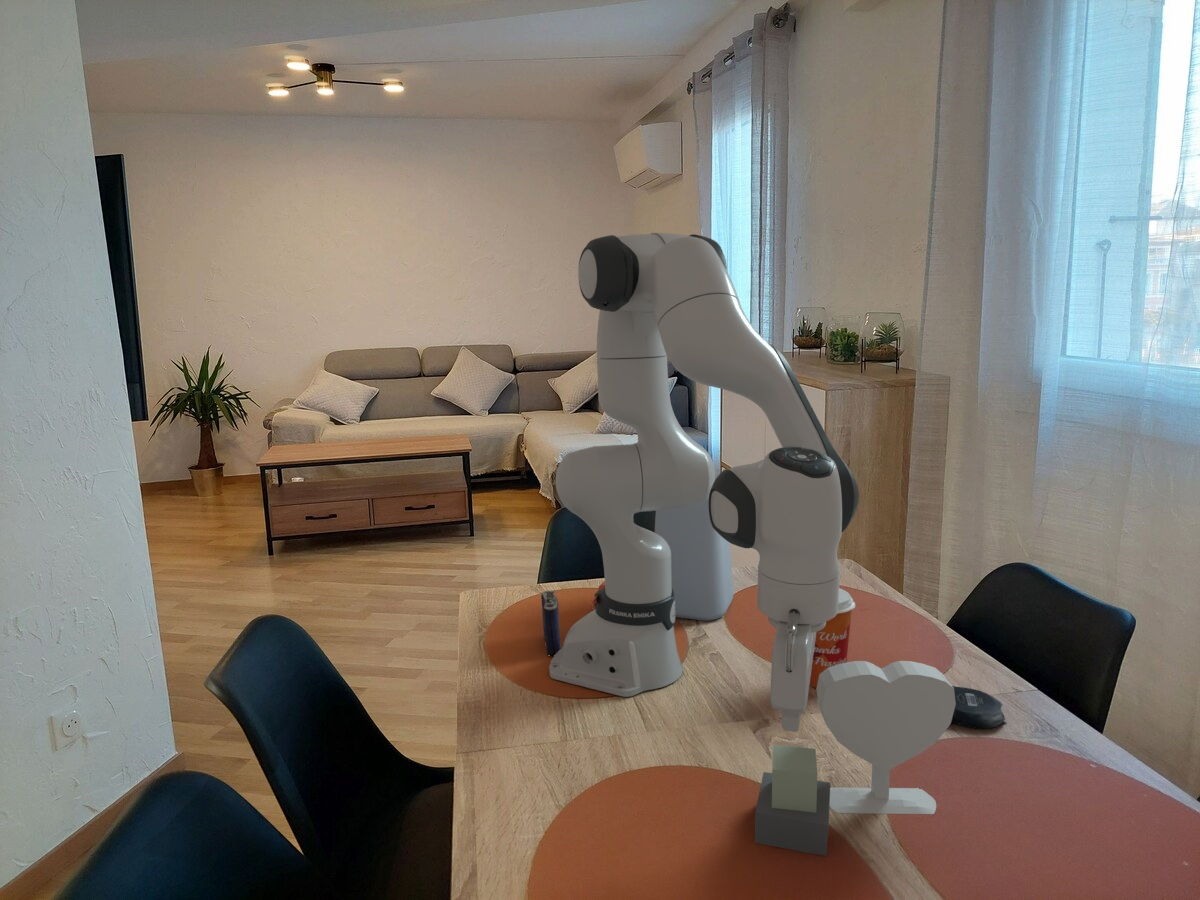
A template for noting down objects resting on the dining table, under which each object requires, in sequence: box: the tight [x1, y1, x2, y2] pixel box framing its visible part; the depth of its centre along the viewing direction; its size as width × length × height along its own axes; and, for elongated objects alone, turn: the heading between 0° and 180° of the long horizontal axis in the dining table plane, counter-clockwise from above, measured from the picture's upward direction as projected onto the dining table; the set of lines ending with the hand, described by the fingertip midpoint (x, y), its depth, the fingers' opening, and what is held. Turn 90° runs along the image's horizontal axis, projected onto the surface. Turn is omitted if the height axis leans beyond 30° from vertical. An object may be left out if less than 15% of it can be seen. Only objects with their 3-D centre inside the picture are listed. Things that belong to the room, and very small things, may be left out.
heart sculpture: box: [815, 660, 956, 815], centre depth 97 cm, size 16×5×18 cm, turn 87°
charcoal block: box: [754, 771, 831, 857], centre depth 94 cm, size 8×8×4 cm
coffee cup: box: [809, 588, 856, 689], centre depth 126 cm, size 8×8×15 cm
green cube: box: [771, 744, 818, 813], centre depth 93 cm, size 5×5×5 cm
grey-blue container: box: [654, 496, 734, 622], centre depth 157 cm, size 15×15×28 cm
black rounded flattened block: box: [951, 685, 1007, 729], centre depth 118 cm, size 9×6×15 cm
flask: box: [540, 589, 562, 657], centre depth 143 cm, size 9×3×11 cm, turn 8°
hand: (794, 705), depth 91 cm, fingers open, 8 cm apart
